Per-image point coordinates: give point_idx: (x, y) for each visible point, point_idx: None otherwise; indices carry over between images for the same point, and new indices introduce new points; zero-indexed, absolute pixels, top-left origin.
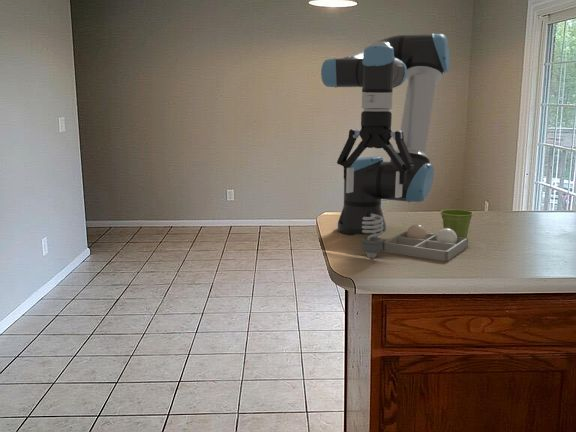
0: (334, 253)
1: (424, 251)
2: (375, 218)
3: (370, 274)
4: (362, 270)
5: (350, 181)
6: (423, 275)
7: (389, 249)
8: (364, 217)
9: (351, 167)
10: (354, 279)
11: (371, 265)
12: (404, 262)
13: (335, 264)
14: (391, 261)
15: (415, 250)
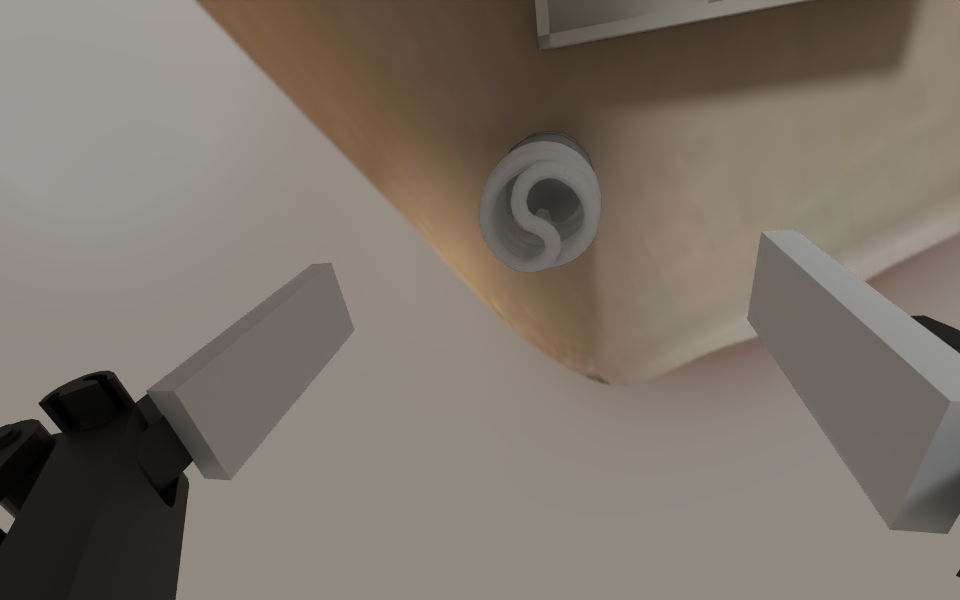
0: (400, 189)
1: (790, 3)
2: (527, 167)
3: (636, 326)
4: (595, 305)
5: (302, 359)
6: (819, 238)
7: (578, 43)
8: (508, 264)
9: (186, 425)
10: (617, 383)
11: (592, 241)
12: (690, 119)
13: (490, 298)
14: (634, 143)
15: (731, 14)
